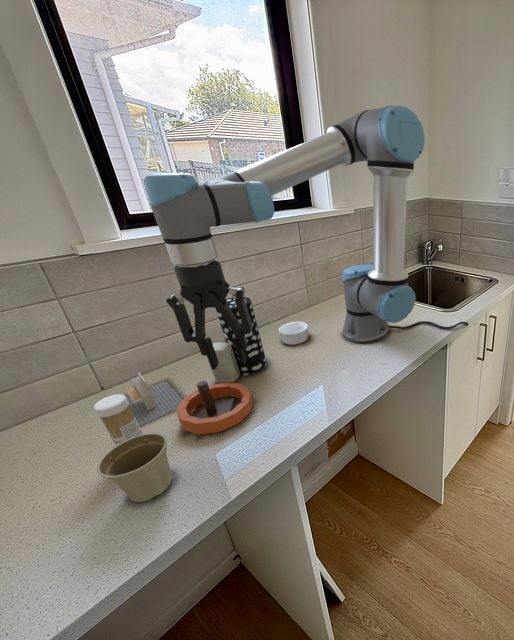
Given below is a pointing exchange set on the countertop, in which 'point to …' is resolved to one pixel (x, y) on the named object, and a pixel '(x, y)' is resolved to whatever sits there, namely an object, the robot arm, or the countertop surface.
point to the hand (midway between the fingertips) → (229, 363)
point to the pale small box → (225, 363)
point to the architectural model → (151, 400)
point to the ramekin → (294, 332)
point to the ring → (220, 421)
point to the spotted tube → (254, 344)
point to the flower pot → (138, 466)
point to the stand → (211, 403)
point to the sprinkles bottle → (118, 418)
